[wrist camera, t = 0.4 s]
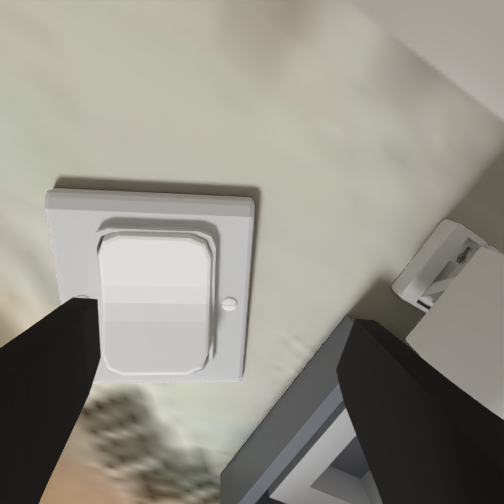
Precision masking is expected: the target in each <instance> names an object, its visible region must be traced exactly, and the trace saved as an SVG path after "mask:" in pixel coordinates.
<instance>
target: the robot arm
mask: <svg viewBox="0 0 504 504" xmlns="http://www.w3.org/2000/svg"><path fill="white" fill-rule="evenodd" d="M100 359H101V350H100V333H99V316H98V299H89V298H77V297H72V298H71V299H69V300H68V301H67V302H65V303H64V304H62V305H61V306H59V307H58V308H57V309H55V310H54V311H52V312H51V313H50V314H48V315H47V316H45V317H44V318H43V319H41V320H40V321H38V322H37V323H36V324H34V325H33V326H31V327H30V328H29V329H27V330H26V331H24V332H23V333H21V334H20V335H18V336H17V337H16V338H14V339H13V340H11V341H10V342H8V343H7V344H5V345H4V346H3V347H1V348H0V504H39V502H40V499H41V497H42V494H43V492H44V490H45V487H46V485H47V483H48V481H49V479H50V477H51V475H52V472H53V470H54V468H55V466H56V464H57V462H58V460H59V458H60V455H61V453H62V451H63V449H64V447H65V445H66V443H67V440H68V438H69V436H70V434H71V432H72V430H73V428H74V425H75V423H76V421H77V419H78V417H79V415H80V412H81V410H82V408H83V406H84V404H85V402H86V399H87V397H88V395H89V392H90V389H91V386H92V383H93V381H94V378H95V375H96V371H97V368H98V365H99V362H100ZM336 372H337V376H338V381H339V385H340V389H341V393H342V397H343V400H344V404H345V407H346V409H347V412H348V415H349V417H350V420H351V422H352V425H353V428H354V430H355V433H356V435H357V438H358V441H359V443H360V446H361V448H362V451H363V453H364V456H365V458H366V461H367V463H368V466H369V469H370V471H371V474H372V476H373V479H374V481H375V484H376V486H377V489H378V492H379V495H380V498H381V501H382V504H504V420H503V419H502V418H500V417H499V416H498V415H496V414H495V413H493V412H492V411H490V410H489V409H488V408H486V407H485V406H483V405H482V404H481V403H479V402H478V401H477V400H475V399H474V398H473V397H471V396H470V395H469V394H467V393H466V392H465V391H463V390H462V389H461V388H459V387H458V386H457V385H455V384H454V383H453V382H451V381H450V380H449V379H448V378H446V377H445V376H444V375H443V374H441V373H440V372H439V371H437V370H436V369H435V368H434V367H432V366H431V365H430V364H429V363H428V362H426V361H425V360H424V359H423V358H421V357H420V356H419V355H418V354H416V353H415V352H414V351H413V350H412V349H410V348H409V347H408V346H407V345H405V344H404V343H403V342H402V341H400V340H399V339H398V338H397V337H396V336H394V335H393V334H392V333H390V332H389V331H388V330H387V329H385V328H384V327H383V326H381V325H380V324H379V323H377V322H376V321H374V320H361V319H355V320H354V323H353V326H352V328H351V331H350V334H349V336H348V339H347V342H346V344H345V347H344V350H343V352H342V355H341V358H340V360H339V363H338V365H337V368H336Z"/></svg>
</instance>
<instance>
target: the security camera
mask: <svg viewBox="0 0 504 504" xmlns="http://www.w3.org/2000/svg"><path fill="white" fill-rule="evenodd" d="M468 247H469V248H470V249H469V251H468V252H467V253H466V254H465V259H464V260H463V261H462V262H460V263H458V262H457V258H458V256H459V255H460V254H462V253H463V252H464V251H465V250H466V249H467V248H468ZM391 289H392V290H393V291H394V292H395V293H396V294H397V295H399V296H400V297H401V298H402V299H403V300H405V301H407V302H408V303H410V304H412V305H414V306H415V307H417V308H419V309H420V310H422V311H424V312H425V313H426V314H425V316H424V317H423V318H422V319H421V320H420V322H419V323H418V324H417V325H416V326H415V328H414V329H413V330H412V331H411V332H410V333H409V335H408V336H407V337H406V338H405V339H406V341H407V342H408V343H409V345H410V346H411V347H412V348H413V349H414V350H415V351H416V352H417V353H418V354H419V355H420V356H421V357H422V358H423V359H424V360H425V361H426V362H428V363H429V364H430V365H431V366H432V367H434V368H435V369H436V370H437V371H439V372H440V373H441V374H443V375H444V376H445V377H446V378H448V379H449V380H450V381H451V382H453V383H454V384H455V385H457V386H458V387H459V388H461V389H462V390H463V391H465V392H466V393H467V394H469V395H470V396H471V397H473V398H474V399H475V400H477V401H478V402H479V403H481V404H482V405H483V406H485V407H486V408H488V409H489V410H490V411H492V412H493V413H495V414H496V415H498V416H499V417H500V418H502V419H503V420H504V254H503V253H502V252H500V251H499V250H497V249H496V248H495V247H493V246H490V245H488V244H487V242H486V241H485V240H483V239H482V238H480V237H479V236H478V235H476V234H475V233H473V232H472V231H470V230H469V229H468V228H466V227H465V226H463V225H462V224H460V223H457V222H454V221H451V220H448V219H444V220H442V221H441V222H440V224H439V225H438V226H437V228H436V229H435V230H434V232H433V233H432V234H431V235H430V237H429V238H428V239H427V241H426V242H425V243H424V244H423V246H422V247H421V248H420V250H419V251H418V252H417V254H416V255H415V256H414V257H413V259H412V260H411V261H410V263H409V264H408V265H407V266H406V268H405V269H404V270H403V272H402V273H401V274H400V276H399V277H398V278H397V279H396V281H395V282H394V283H393V285H392V287H391Z"/></svg>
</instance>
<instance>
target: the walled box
mask: <svg viewBox="0 0 504 504" xmlns="http://www.w3.org/2000/svg"><path fill="white" fill-rule="evenodd" d="M354 320H355V319H353V318H352V317H350V316H348V315H346V316H345V317H344V319H343V320H342V321H341V322H340V324H339V325H338V326H337V327H336V329H335V330H334V331H333V333H332V334H331V335H330V336H329V338H328V339H327V340H326V341H325V343H324V344H323V345H322V347H321V348H320V349H319V350H318V352H317V353H316V354H315V355H314V357H313V358H312V359H311V360H310V362H309V363H308V364H307V366H306V367H305V368H304V369H303V371H302V372H301V373H300V374H299V376H298V377H297V378H296V379H295V381H294V382H293V383H292V385H291V386H290V387H289V388H288V390H287V391H286V392H285V393H284V395H283V396H282V397H281V398H280V400H279V401H278V402H277V404H276V405H275V406H274V407H273V409H272V410H271V411H270V412H269V414H268V415H267V416H266V417H265V419H264V420H263V421H262V423H261V424H260V425H259V426H258V428H257V429H256V430H255V431H254V433H253V434H252V435H251V436H250V438H249V439H248V440H247V442H246V443H245V444H244V445H243V447H242V448H241V449H240V450H239V452H238V453H237V454H236V455H235V457H234V458H233V459H232V461H231V462H230V463H229V464H228V466H227V467H226V468H225V469H224V471H223V472H222V473H221V504H382V501H381V498H380V495H379V492H378V489H377V486H376V484H375V481H374V479H373V476H372V474H371V471H370V469H369V466H368V463H367V461H366V458H365V456H364V453H363V451H362V448H361V446H360V443H359V441H358V438H357V435H356V433H355V430H354V428H353V425H352V422H351V420H350V417H349V415H348V412H347V409H346V407H345V404H344V400H343V397H342V393H341V389H340V385H339V381H338V376H337V372H336V368H337V365H338V363H339V360H340V358H341V355H342V352H343V350H344V347H345V344H346V342H347V339H348V336H349V334H350V331H351V328H352V326H353V323H354Z"/></svg>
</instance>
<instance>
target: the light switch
mask: <svg viewBox="0 0 504 504" xmlns="http://www.w3.org/2000/svg"><path fill="white" fill-rule="evenodd" d="M45 214H46V220H47V225H48V231H49V237H50V242H51V248H52V254H53V260H54V265H55V271H56V277H57V283H58V288H59V294H60V300H61V305H62V304H64V303H65V302H67V301H68V300H69V299H71V298H72V297H77V298H89V299H98V316H99V333H100V350H101V359H100V362H99V365H98V368H97V371H96V375H95V378H94V381H93V383H92V384H113V383H179V382H238V381H241V379H242V377H243V368H244V355H245V341H246V327H247V314H248V300H249V287H250V273H251V259H252V246H253V232H254V218H255V204H254V201H253V199H252V198H250V197H236V196H214V195H193V194H172V193H150V192H129V191H108V190H87V189H65V188H54V189H52V190H49V191H47V194H46V197H45ZM104 235H105V236H104ZM103 236H104V238H103ZM102 239H103V241H102ZM101 242H102V244H101ZM208 354H209V355H208ZM207 356H208V357H207Z"/></svg>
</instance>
